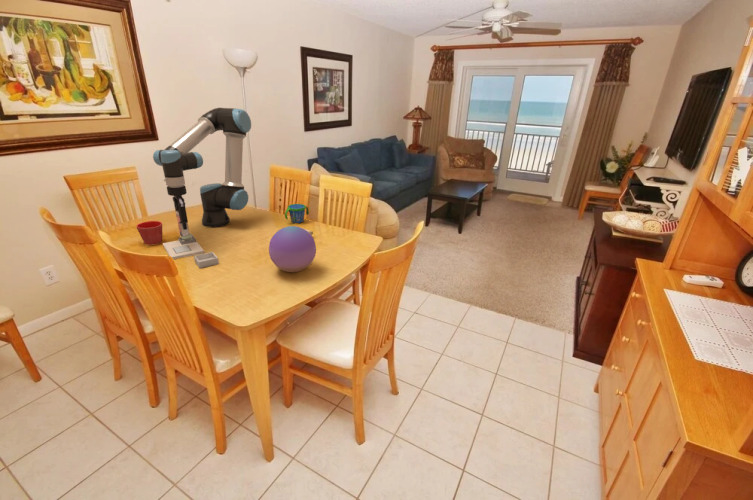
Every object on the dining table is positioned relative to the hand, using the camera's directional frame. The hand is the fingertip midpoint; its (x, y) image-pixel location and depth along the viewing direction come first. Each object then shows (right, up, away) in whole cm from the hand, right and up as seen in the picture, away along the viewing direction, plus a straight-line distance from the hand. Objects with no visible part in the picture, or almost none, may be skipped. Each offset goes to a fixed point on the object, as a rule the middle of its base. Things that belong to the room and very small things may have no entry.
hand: (184, 233), depth 164 cm
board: (-2, -7, +3) cm, 8 cm away
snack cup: (+43, +9, +47) cm, 64 cm away
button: (-4, -2, +9) cm, 10 cm away
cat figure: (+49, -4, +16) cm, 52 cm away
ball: (+55, -17, -12) cm, 59 cm away
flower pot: (-21, -4, +9) cm, 23 cm away
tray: (+15, -14, -9) cm, 22 cm away
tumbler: (0, -1, 0) cm, 1 cm away
